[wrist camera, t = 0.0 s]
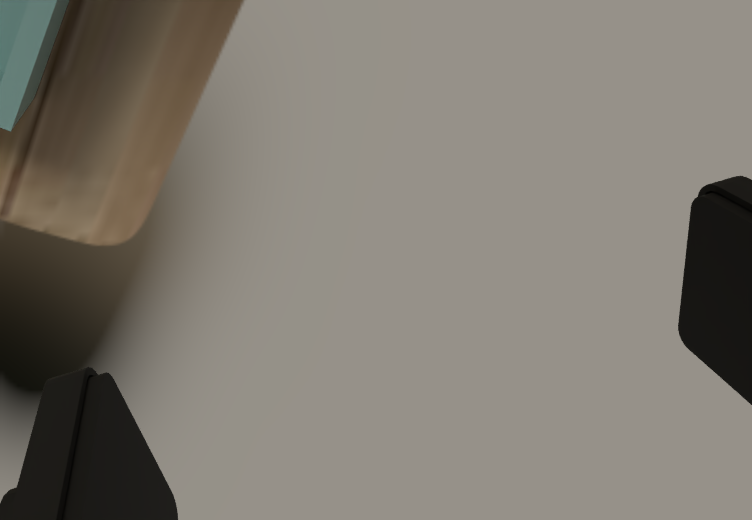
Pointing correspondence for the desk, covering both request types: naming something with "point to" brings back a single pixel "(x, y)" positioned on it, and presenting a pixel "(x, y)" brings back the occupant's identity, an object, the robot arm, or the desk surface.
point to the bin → (25, 52)
